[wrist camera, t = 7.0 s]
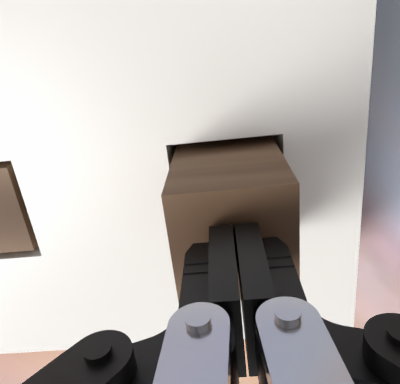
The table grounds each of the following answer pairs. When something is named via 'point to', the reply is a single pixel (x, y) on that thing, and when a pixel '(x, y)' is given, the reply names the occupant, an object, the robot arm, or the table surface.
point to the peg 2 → (229, 194)
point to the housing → (169, 146)
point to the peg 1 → (13, 214)
